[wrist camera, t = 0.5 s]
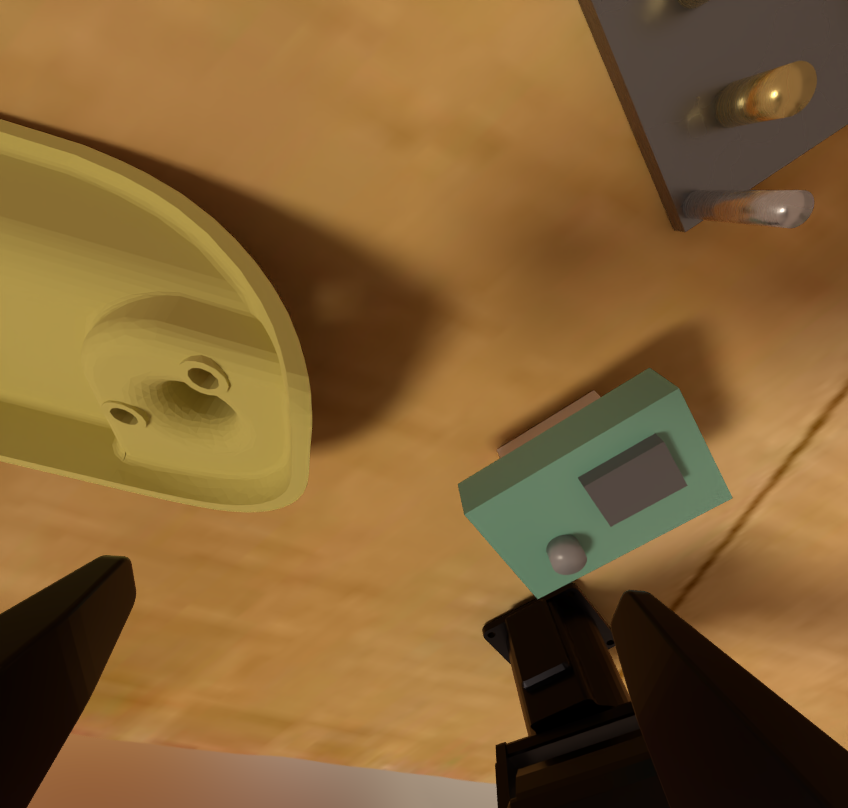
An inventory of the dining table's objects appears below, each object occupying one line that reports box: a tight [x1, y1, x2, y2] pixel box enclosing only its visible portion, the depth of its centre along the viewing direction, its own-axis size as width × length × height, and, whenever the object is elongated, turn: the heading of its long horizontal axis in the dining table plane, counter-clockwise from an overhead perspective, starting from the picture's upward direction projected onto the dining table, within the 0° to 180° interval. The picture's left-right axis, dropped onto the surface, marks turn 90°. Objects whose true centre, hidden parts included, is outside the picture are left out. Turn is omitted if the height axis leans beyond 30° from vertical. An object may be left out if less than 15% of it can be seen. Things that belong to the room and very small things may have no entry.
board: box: [458, 368, 732, 599], centre depth 18 cm, size 6×9×3 cm, turn 125°
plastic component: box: [0, 119, 312, 512], centre depth 17 cm, size 20×7×10 cm
